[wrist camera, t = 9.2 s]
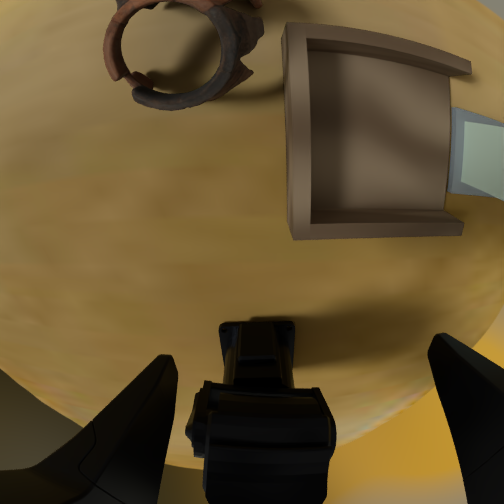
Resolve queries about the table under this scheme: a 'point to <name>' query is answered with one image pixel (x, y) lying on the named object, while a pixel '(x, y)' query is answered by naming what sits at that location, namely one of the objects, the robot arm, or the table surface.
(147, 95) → the pottery mug
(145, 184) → the table surface
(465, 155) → the sage block
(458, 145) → the slate tile
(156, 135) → the table surface
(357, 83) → the walnut crate
